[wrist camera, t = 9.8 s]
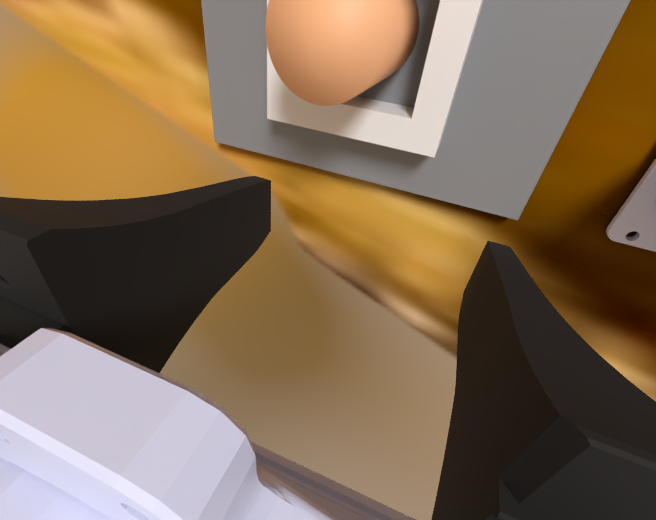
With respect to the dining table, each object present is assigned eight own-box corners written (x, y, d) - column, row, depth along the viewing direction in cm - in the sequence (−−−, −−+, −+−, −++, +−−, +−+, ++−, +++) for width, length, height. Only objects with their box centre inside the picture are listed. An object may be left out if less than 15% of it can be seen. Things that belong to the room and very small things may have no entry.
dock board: (732, -219, 10) (803, -288, 8) (516, 211, 18) (520, 240, 16) (196, -213, 14) (138, -257, 12) (224, 137, 22) (194, 151, 20)
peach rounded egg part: (430, -24, 14) (398, -42, 9) (407, 86, 16) (372, 116, 12) (336, -34, 15) (264, -55, 10) (327, 72, 17) (266, 94, 13)
